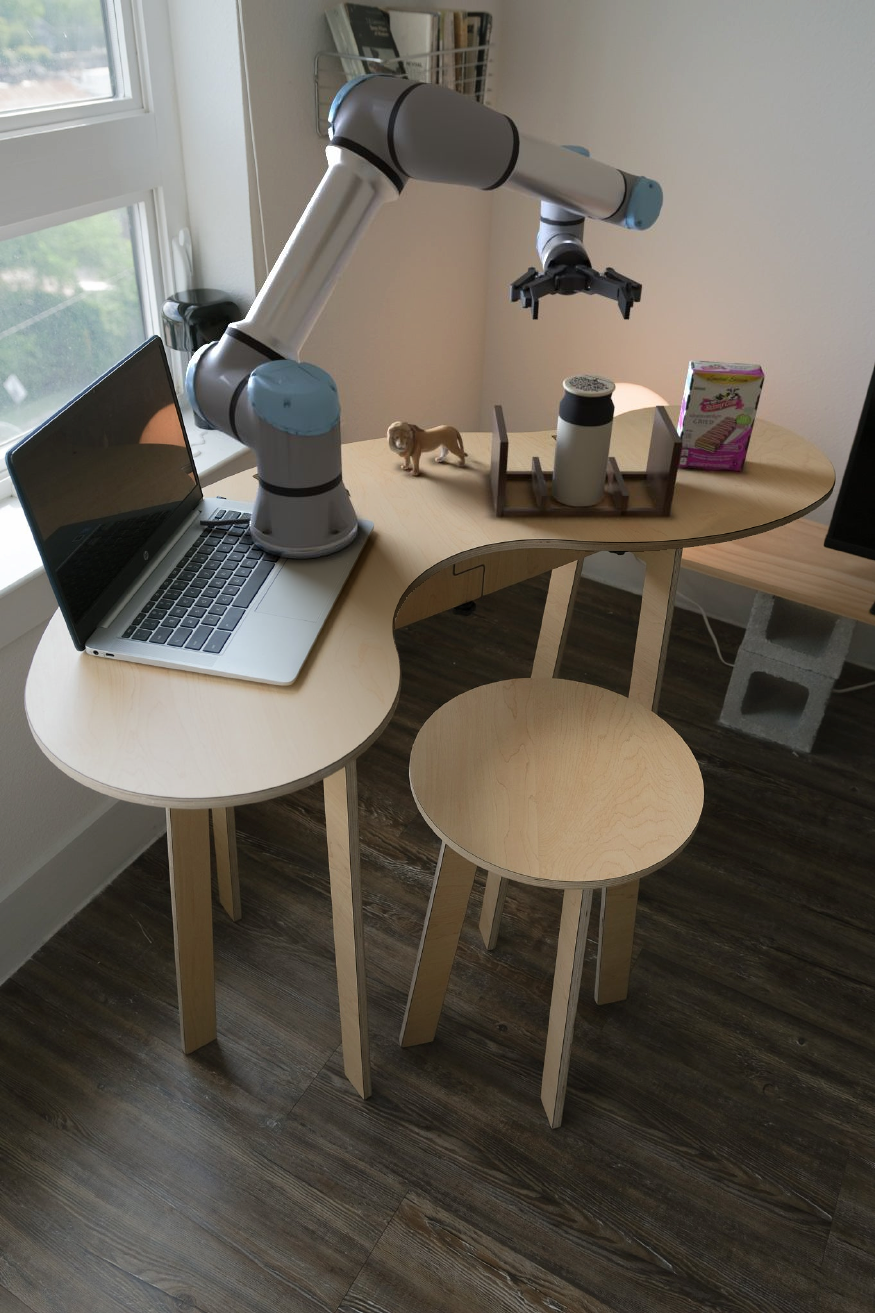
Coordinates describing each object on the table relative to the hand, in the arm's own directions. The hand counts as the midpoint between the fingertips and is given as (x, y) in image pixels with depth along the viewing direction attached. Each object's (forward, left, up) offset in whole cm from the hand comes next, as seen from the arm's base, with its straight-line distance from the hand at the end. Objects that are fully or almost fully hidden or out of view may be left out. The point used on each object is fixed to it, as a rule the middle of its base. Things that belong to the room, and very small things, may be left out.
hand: (581, 310), depth 148 cm
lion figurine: (-23, -2, -25) cm, 34 cm away
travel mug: (0, -11, -25) cm, 27 cm away
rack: (0, -11, -25) cm, 27 cm away
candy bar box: (+23, 0, -25) cm, 34 cm away
